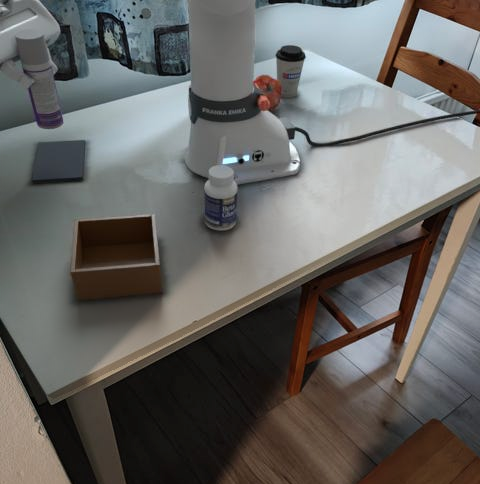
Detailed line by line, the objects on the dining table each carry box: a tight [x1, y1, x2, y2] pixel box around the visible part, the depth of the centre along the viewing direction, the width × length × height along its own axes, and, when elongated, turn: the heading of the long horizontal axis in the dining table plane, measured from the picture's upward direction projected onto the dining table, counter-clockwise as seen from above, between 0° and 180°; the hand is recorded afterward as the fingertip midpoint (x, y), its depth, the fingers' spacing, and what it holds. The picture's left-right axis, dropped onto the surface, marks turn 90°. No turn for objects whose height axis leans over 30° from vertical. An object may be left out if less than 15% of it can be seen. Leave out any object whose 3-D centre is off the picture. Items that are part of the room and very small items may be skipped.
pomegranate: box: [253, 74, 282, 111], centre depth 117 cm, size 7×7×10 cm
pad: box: [31, 139, 86, 184], centre depth 101 cm, size 9×14×1 cm, turn 10°
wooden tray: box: [69, 213, 164, 301], centre depth 78 cm, size 12×12×5 cm
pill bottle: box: [203, 165, 238, 232], centre depth 86 cm, size 5×5×10 cm
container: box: [15, 30, 65, 130], centre depth 90 cm, size 5×5×15 cm
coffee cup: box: [275, 44, 307, 98], centre depth 122 cm, size 7×7×10 cm
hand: (43, 79), depth 89 cm, fingers closed on container, 4 cm apart
